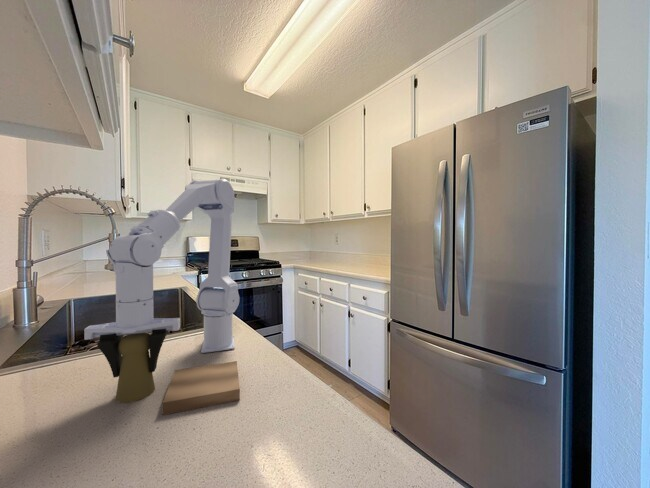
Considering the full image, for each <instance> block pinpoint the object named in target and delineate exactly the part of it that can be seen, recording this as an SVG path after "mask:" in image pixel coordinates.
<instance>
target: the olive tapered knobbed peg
mask: <svg viewBox="0 0 650 488" xmlns="http://www.w3.org/2000/svg"><path fill="white" fill-rule="evenodd" d="M149 336H150V333H149V332H146V333H136V334H126V335H123V338H121V340H120V341H119V344H118V350H119V353H120V354H121V355H122V359H121V366H120V373H119V376H118V380H117V387H116V394H115V401H116V402H117V403H120V404H121V403H123V404H127V403H135V402H137V401H140V400H143V399H145V398H147V397H150V395H152V394H153V393H154V391H156V387H155V381H154V376H153V372H150V370H149V365H150V349H149V341H148V337H149Z"/></svg>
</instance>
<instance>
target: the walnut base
mask: <svg viewBox="0 0 650 488" xmlns="http://www.w3.org/2000/svg"><path fill="white" fill-rule="evenodd" d="M238 370H239V369H238V361H236V360H235V361H228V362H222V363H214V364H208V365H207V364H206V365H201V366H200V365H199V366H193V367H188V368H186V367H185V368H179V369H175V370H174V371H173V375H172V376H171V380H170V382H169V385H168V387H167V390H166V392H165V395H164V398H163V400H162V416H164V415H169V414H175V413H179V412H180V413H181V412H186V411H191V410H195V409H201V408H206V407H211V406H216V405H221V404H226V403H231V402H237V401H240V400H241V397H240V396H241V395H240V394H241V392H240V391H241V387H240V380H239V371H238Z"/></svg>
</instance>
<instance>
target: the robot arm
mask: <svg viewBox="0 0 650 488" xmlns="http://www.w3.org/2000/svg"><path fill="white" fill-rule="evenodd" d="M195 209H199V210H200V211H201V212H203V213H204V214H206V215H208V216H209V218H210V231H209V232H210V237H209V250H208V251H209V252H208V267H207V268H208V269H207V270H208V271H207V277H206V278H204V280H202V282H201V283H200V284H199V290H198V293H197V296H196V298H195V299H196V300H195V302H196V307H197V309H198V310H199V311H200V312H201V314H200V315H203V341H202V344H201V346H202V347H201V350H200V351H201V354H205V353H206V354H207V353H212V352H213V353H214V352H220V351H228V350H235V347H236V346H235V339H234V338H235V337H234V335H233V334H234V333H233V332H234V331H233V326H234V325H233V322H234V321H233V319H234V318H233V316H234V315H233V314H234V313H236V310H237V309H238V307H239V304H240V294H239V288H238V287H239V284H238V283H237V282H236V281H235V280H234V279H232V278H231V277H230V269H231V268H230V265H231V245H232V229H233V227H232V225H233V224H232V223H233V213H234V209H235V190H234V188H233V186H232V184H231V183H230V181H229V180H228V179H226V178H220V179H210V180H191V181H190V183H189V184H186V185H185V186H184V191H183V192H182V193H181V194H180V195H178V196H177V198H176V199H175V200H174V201H173V202H172V203H171V204H170V205H169V206H168V207H167V208H166V209H157V210H156V209H155V210H150V211H149V212H148V213H147V216H148V217H146V218H145V219H144V220H143V221H141V222H140V223H138V225H133V226H132V227H131V228H130V231H129V233H128V234H121V235H118V236H117V237H115V238H114V239H113V240H112V242H111V243H110V246H109V248H108V249H106V257H107V259H108V260H109V261H110V262H111V263H112V266H113V273H114V274H115V322H114V321H113V322H108V323H101V324H93V325H92V324H91V325H89V326H87V327H85V328H84V334H83V335H84V338H83V339H84V340H85V341H87V340H92V339H94V338H99V341H98V342H97V348H98V349H99V350H100V351H101V352H102V354H103V356H104V357H105V359H106V360H107V363H108V364H109V366H110V369H111V372H112V377H113V378H119V373H120V366H121V359H122V355H121V354H120V353H119V350H118V344H119V341H120V340H121V338H123V337H124V336H126V335H129V334H136V333H149V334H150V333H151V334H150V336H149V337H148V341H149V355H150V365H149V370H150V372H152V373H154V372H156V369H157V366H158V365H157V364H158V360H159V359H158V358H159V354H160V352H161V348H162V347H163V343H164V341H165V340H166V337H167V335H168V333H169V331H173V332H175V331H177V332H178V331H179V330H180V328H181V318H180V317H173V318H172V317H171V318H170V317H169V318H164V317H163V318H161V317H160V318H159V317H158V318H157V317H156V318H154V264H155V263H156V262H158V261H159V260H160V258H161V255H162V250H163V248H164V245H166V243H168V241H169V240H170V239H171V238H173V236H174V235H176V234H177V232H178V231H180V227H181V224H180V222H181V221H182V220H183V219H184V218H186V217H187V216H188V215H189V214H191V212H193V211H194V210H195Z"/></svg>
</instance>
